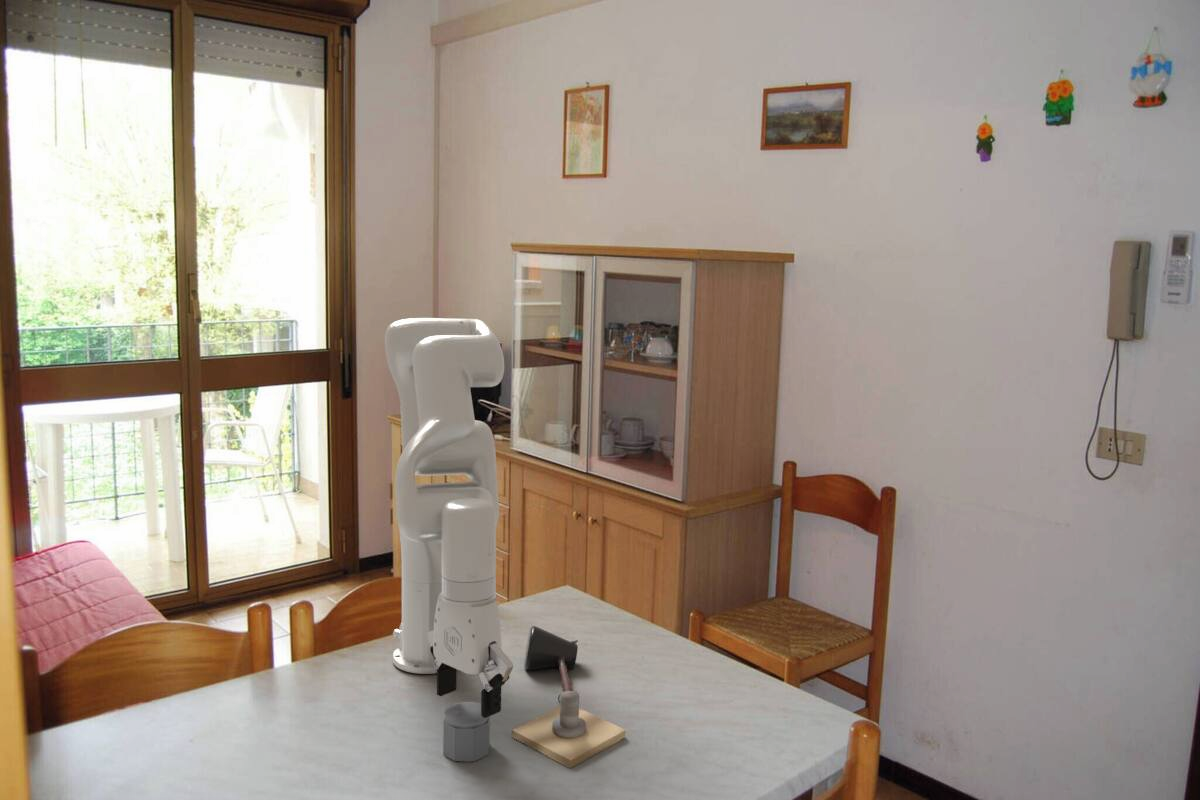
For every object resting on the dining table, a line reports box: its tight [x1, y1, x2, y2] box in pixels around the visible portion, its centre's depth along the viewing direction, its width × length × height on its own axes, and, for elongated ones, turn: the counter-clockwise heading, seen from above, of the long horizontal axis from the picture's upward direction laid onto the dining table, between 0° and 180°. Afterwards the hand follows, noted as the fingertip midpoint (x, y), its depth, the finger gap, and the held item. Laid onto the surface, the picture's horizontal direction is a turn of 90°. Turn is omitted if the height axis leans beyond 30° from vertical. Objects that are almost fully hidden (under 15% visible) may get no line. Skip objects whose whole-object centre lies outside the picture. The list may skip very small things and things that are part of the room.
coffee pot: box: [523, 625, 579, 703], centre depth 156 cm, size 8×18×8 cm
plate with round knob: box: [511, 690, 627, 769], centre depth 137 cm, size 12×12×7 cm
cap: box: [442, 701, 491, 763], centre depth 133 cm, size 6×6×6 cm
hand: (468, 703), depth 132 cm, fingers open, 9 cm apart
